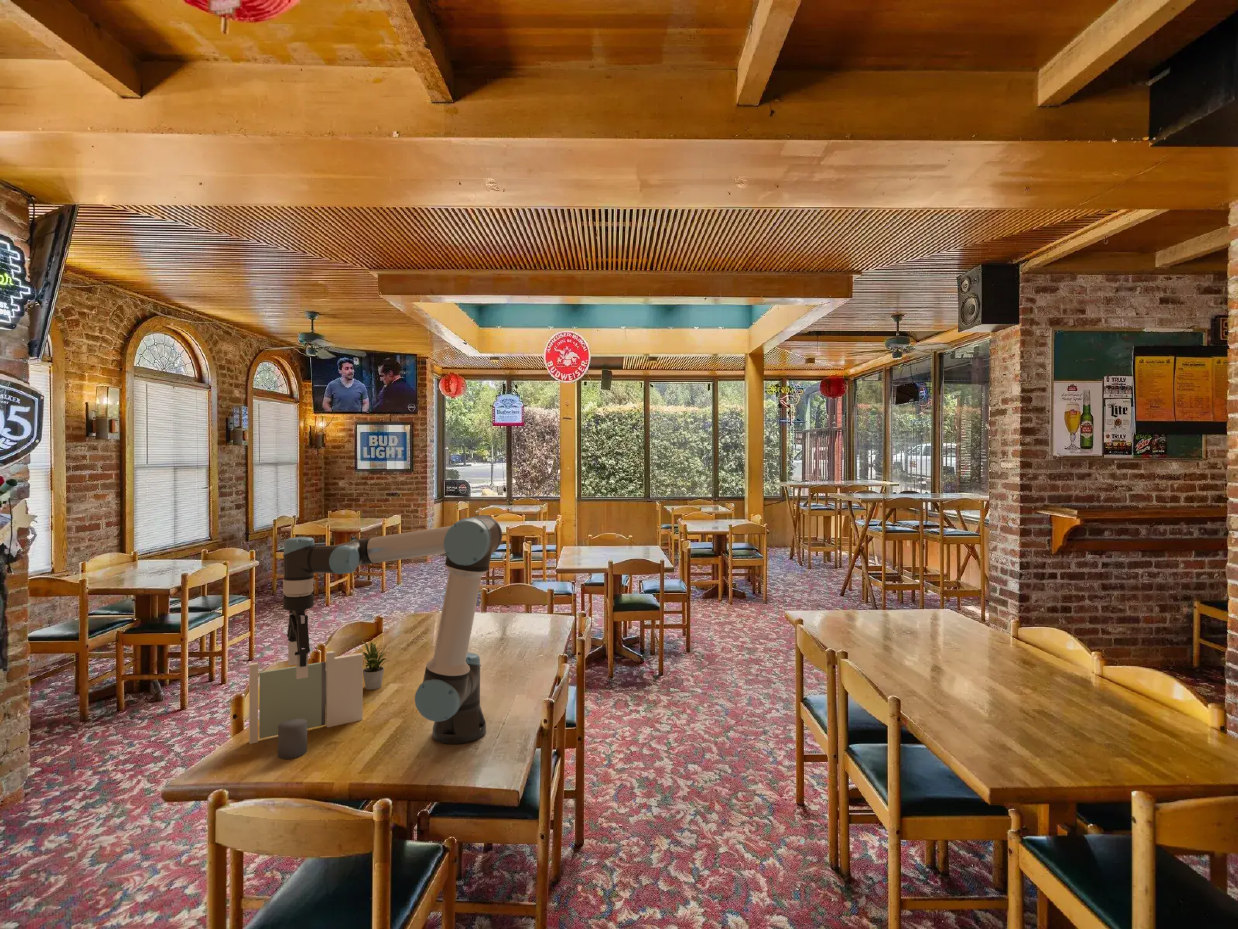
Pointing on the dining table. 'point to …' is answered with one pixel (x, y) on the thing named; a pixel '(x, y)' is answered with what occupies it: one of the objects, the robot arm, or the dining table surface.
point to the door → (291, 698)
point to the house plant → (373, 667)
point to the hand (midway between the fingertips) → (297, 671)
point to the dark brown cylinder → (292, 738)
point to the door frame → (340, 691)
